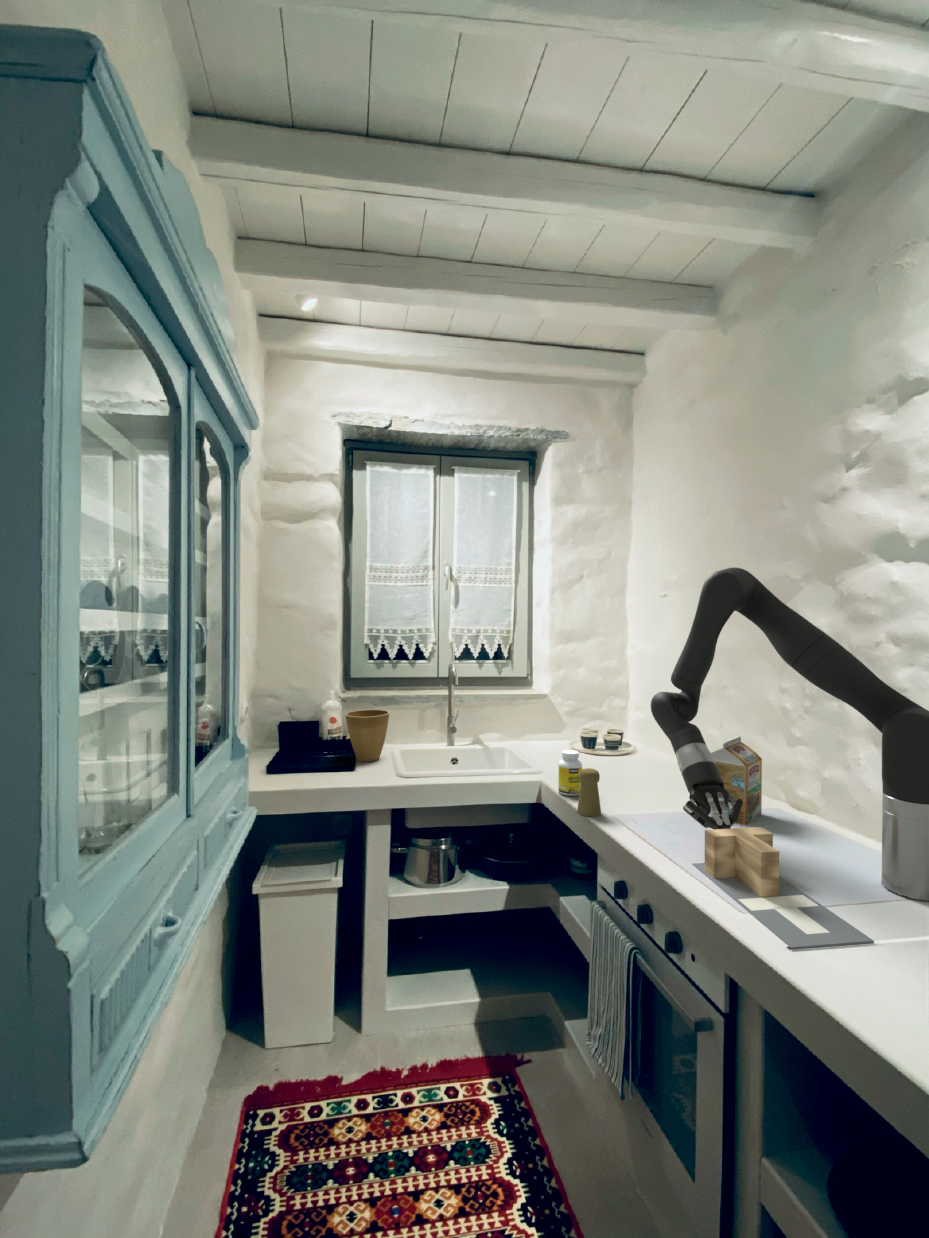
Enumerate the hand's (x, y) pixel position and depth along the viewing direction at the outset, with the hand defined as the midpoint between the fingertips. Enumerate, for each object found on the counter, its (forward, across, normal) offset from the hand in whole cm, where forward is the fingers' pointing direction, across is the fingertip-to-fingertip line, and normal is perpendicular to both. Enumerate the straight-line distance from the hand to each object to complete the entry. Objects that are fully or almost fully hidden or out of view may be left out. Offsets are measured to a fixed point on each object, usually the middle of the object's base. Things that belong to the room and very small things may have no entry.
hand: (729, 845), depth 120 cm
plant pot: (-65, -75, +71) cm, 122 cm away
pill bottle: (-33, -17, +39) cm, 54 cm away
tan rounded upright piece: (-21, -17, +28) cm, 39 cm away
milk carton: (-17, +18, +24) cm, 34 cm away
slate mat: (+12, 0, -6) cm, 14 cm away
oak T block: (+8, 0, -2) cm, 8 cm away
